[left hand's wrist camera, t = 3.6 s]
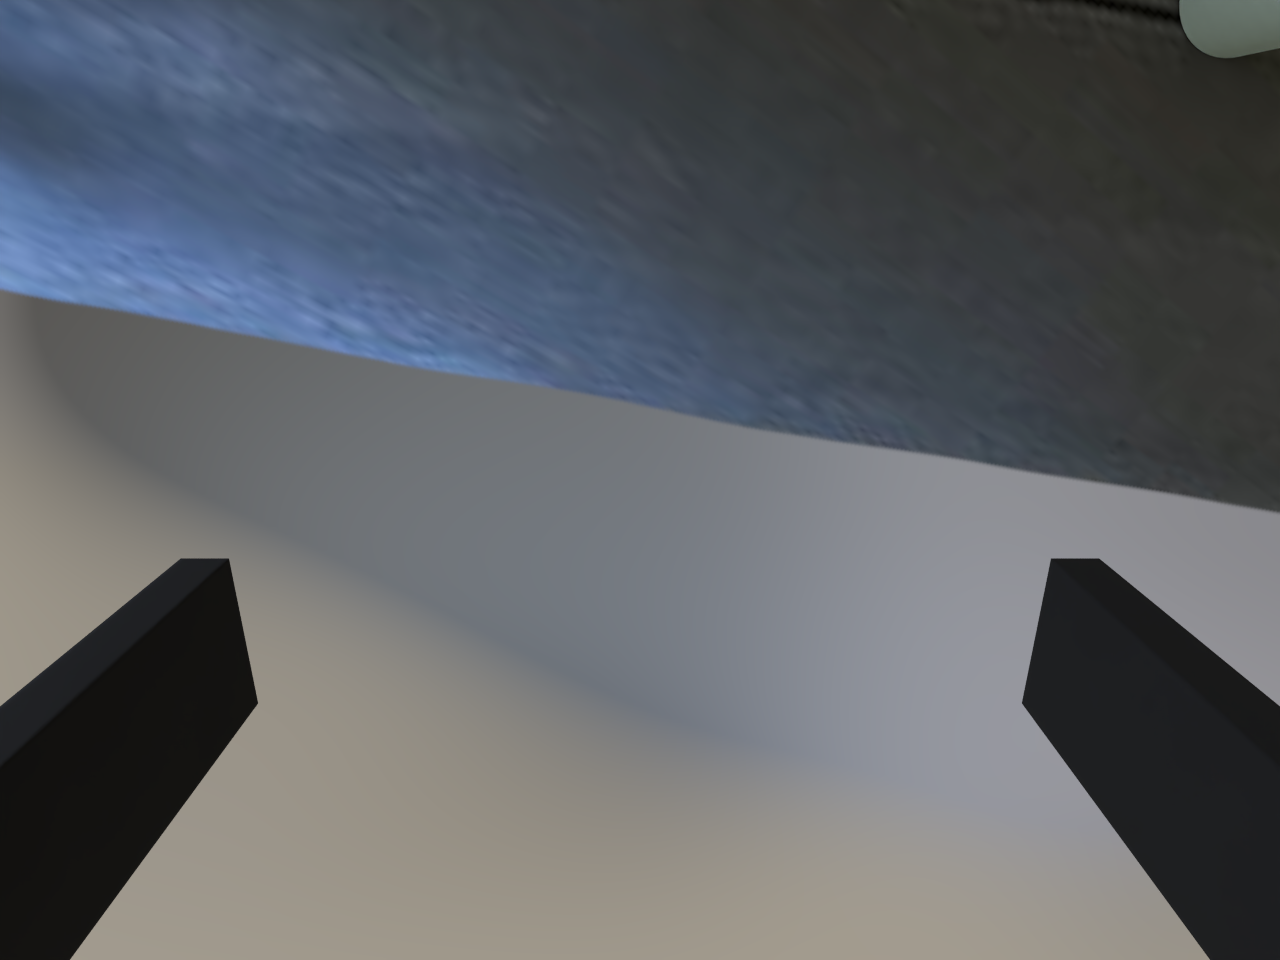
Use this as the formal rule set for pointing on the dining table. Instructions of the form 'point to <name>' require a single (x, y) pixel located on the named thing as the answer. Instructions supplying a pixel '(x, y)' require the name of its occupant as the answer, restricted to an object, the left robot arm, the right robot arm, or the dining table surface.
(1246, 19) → the jar
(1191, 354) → the dining table surface
